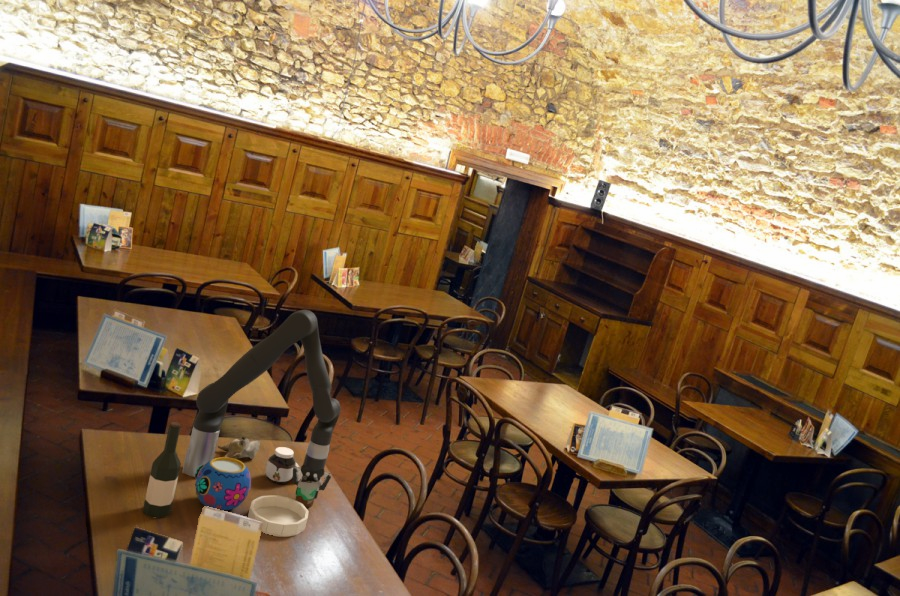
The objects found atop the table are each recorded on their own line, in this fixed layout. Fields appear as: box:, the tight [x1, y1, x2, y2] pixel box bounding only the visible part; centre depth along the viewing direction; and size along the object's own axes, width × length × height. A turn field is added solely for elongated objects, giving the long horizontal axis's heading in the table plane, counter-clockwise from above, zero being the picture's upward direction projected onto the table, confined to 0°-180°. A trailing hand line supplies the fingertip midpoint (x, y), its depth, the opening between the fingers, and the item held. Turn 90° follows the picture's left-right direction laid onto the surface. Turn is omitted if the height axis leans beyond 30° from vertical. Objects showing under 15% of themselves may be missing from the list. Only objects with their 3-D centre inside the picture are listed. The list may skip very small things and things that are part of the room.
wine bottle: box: [142, 421, 182, 519], centre depth 228 cm, size 8×8×30 cm
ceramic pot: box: [194, 456, 252, 511], centre depth 242 cm, size 18×18×15 cm
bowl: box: [247, 494, 310, 538], centre depth 243 cm, size 19×19×4 cm
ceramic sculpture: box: [217, 436, 261, 460], centre depth 282 cm, size 11×9×15 cm
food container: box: [294, 477, 322, 509], centre depth 259 cm, size 12×6×10 cm, turn 168°
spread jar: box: [265, 446, 303, 485], centre depth 273 cm, size 12×11×12 cm
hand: (305, 497), depth 259 cm, fingers closed on food container, 5 cm apart
